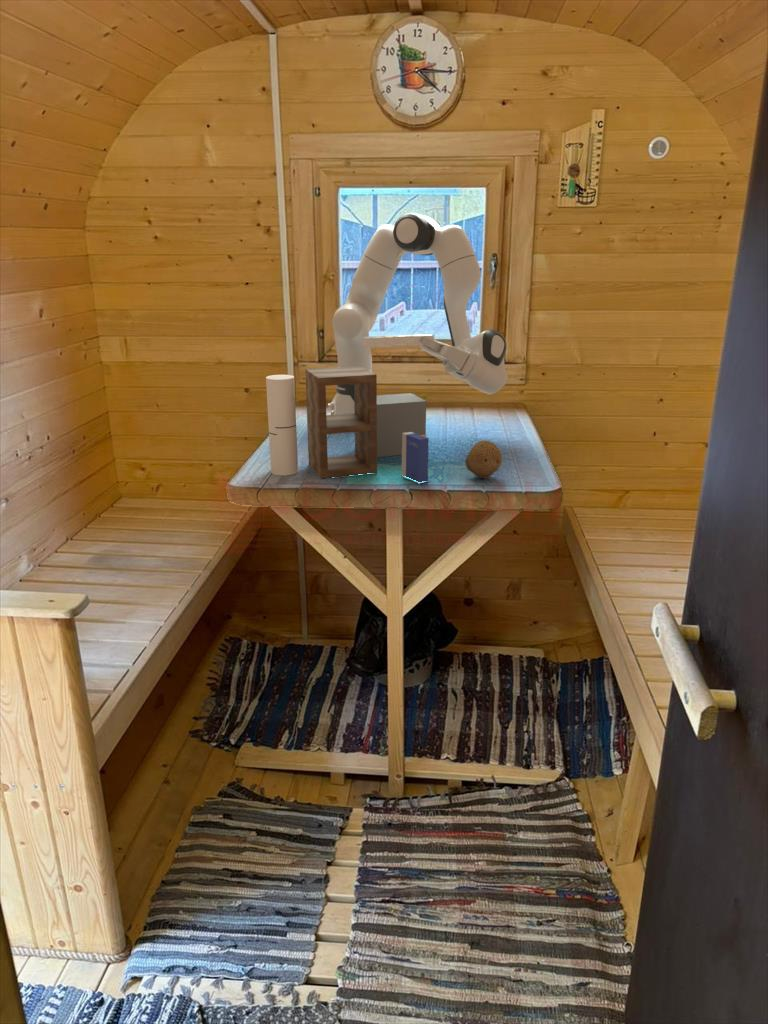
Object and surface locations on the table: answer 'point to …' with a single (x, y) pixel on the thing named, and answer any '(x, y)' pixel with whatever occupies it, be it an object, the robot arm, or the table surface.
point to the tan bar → (395, 340)
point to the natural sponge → (484, 459)
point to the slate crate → (398, 421)
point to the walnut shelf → (342, 421)
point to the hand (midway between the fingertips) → (420, 338)
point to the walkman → (415, 456)
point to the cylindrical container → (282, 424)
